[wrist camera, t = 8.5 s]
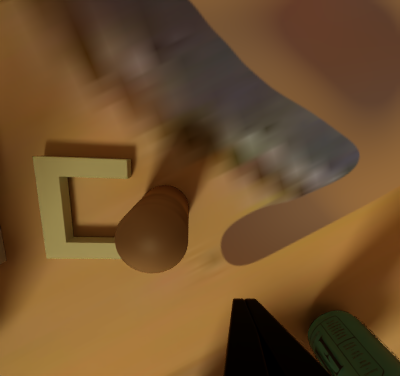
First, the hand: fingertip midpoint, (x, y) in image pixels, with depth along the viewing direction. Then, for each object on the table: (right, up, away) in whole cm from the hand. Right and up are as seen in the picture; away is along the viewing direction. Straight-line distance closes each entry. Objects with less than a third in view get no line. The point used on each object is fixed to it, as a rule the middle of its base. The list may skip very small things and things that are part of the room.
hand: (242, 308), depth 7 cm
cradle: (-12, +3, +12) cm, 17 cm away
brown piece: (-5, +2, +12) cm, 14 cm away
